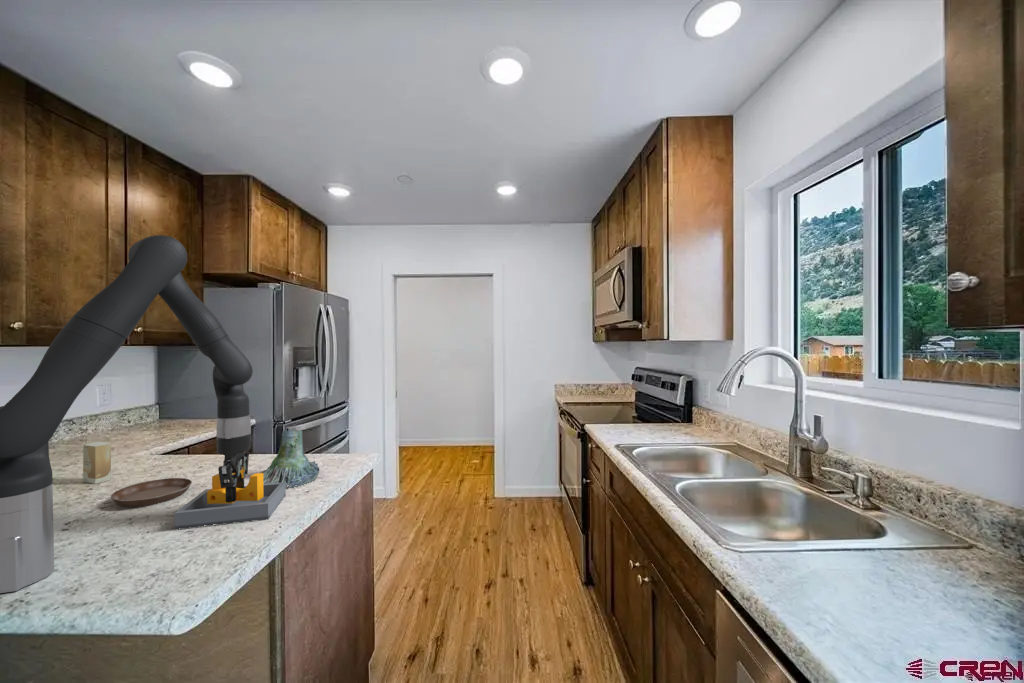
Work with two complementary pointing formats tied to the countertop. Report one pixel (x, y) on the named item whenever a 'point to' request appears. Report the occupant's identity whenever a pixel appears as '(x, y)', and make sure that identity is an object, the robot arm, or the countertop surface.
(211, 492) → the pipe clamp
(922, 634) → the countertop surface
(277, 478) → the tree stump
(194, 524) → the tray
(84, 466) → the skincare box
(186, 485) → the plant saucer
